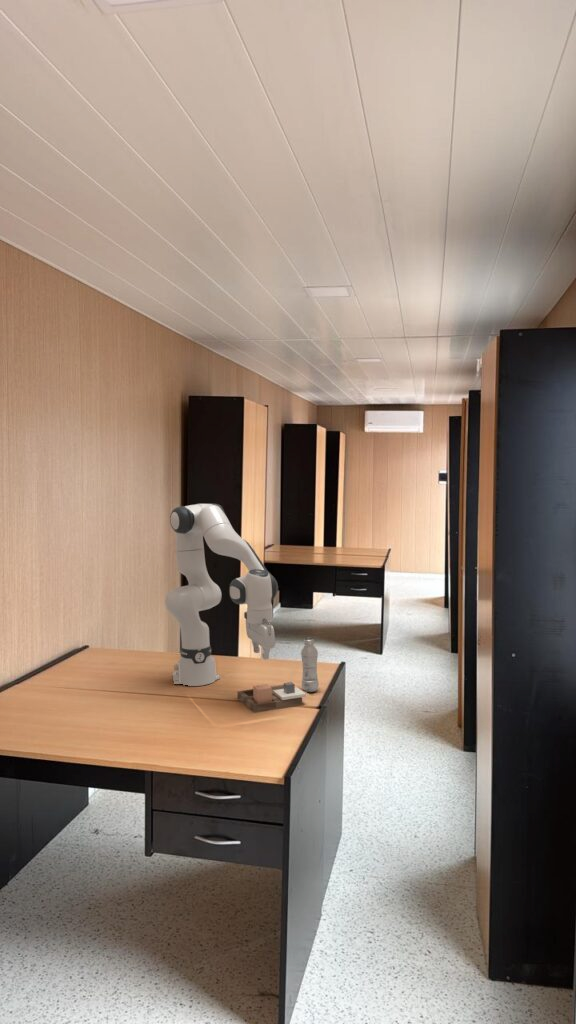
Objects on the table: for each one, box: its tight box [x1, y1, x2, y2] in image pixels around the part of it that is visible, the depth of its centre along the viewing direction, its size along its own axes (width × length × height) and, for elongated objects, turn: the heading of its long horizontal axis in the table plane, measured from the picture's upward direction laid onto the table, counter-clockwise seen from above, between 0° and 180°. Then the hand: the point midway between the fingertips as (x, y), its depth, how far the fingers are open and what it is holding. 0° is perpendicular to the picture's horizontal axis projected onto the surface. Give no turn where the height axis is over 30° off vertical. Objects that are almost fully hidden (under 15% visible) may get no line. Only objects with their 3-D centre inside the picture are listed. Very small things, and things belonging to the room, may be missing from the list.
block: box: [252, 683, 272, 704], centre depth 261 cm, size 5×5×7 cm
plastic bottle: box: [300, 637, 320, 693], centre depth 280 cm, size 6×7×20 cm
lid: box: [273, 681, 307, 700], centre depth 265 cm, size 9×9×4 cm
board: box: [236, 684, 303, 713], centre depth 267 cm, size 18×18×4 cm
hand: (261, 655), depth 261 cm, fingers open, 8 cm apart
